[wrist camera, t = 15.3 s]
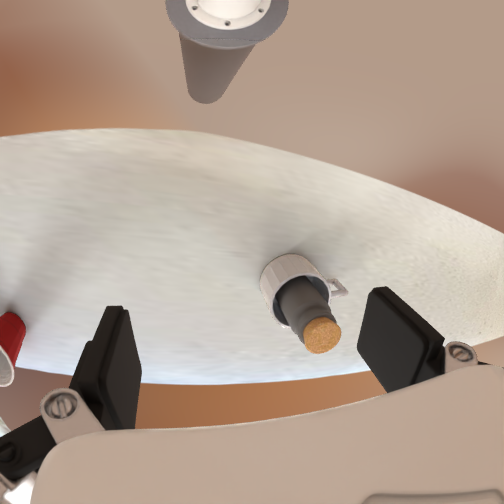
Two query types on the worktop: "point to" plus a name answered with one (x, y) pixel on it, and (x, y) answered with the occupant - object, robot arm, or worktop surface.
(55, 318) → the worktop surface
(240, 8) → the robot arm
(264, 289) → the mug
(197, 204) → the worktop surface
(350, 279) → the worktop surface
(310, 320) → the bottle
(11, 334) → the plastic cup
